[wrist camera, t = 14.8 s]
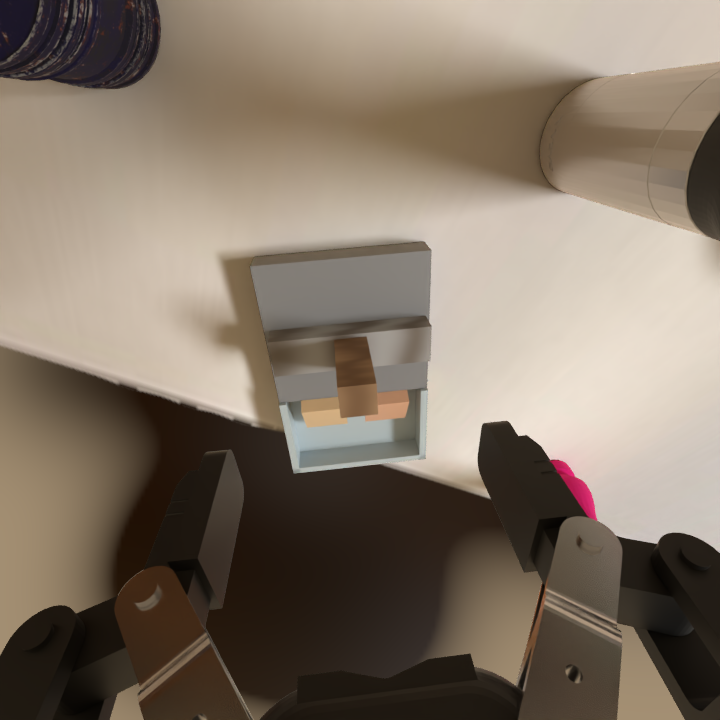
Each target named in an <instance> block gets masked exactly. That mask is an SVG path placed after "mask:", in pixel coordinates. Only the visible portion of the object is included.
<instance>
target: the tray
mask: <svg viewBox="0 0 720 720" xmlns="http://www.w3.org/2000/svg"><path fill="white" fill-rule="evenodd" d="M407 392H408V397H409V405H408V409H407V413H406V417H405V418H396V419H386V420H376V421H367V422H365V416H358V417H348V418H347V422H348V424H338V425H329V426H320V427H310V428H307V426H306V423H305V421H304V418H303V416H302V413H301V401H294V402H284V403H279V408H280V412H281V417H282V421H283V426H284V430H285V435H286V439H287V444H288V449H289V453H290V457H291V462H292V467H293V472H294V473H302V472H311V471H320V470H329V469H338V468H347V467H355V466H365V465H374V464H383V463H392V462H402V461H411V460H420V459H426V431H427V402H428V389H427V388H420V389H410V390H407Z"/></svg>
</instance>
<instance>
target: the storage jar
mask: <svg viewBox="0 0 720 720" xmlns="http://www.w3.org/2000/svg"><path fill="white" fill-rule="evenodd" d="M160 34H161V27H160V16H159V11H158V6H157V2H156V0H0V77H4V78H12V79H20V80H26V81H33V80H45V79H51V80H54V81H57V82H61V83H67V84H69V85H73V86H78V87H84V88H106V89H118V88H123V87H127V86H130V85H132V84H134V83H136V82H137V81H139V80H140V79H142V78H143V77H144V76H145V75H146V74H147V73H148V71H149V70H150V68H151V67H152V65H153V64H154V61H155V59H156V56H157V54H158V49H159V44H160Z"/></svg>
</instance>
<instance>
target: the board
mask: <svg viewBox="0 0 720 720" xmlns="http://www.w3.org/2000/svg"><path fill="white" fill-rule="evenodd" d="M250 270H251V274H252V279H253V283H254V288H255V293H256V297H257V302H258V306H259V311H260V316H261V320H262V325H263V329H264V334H265V339H266V343H267V342H268V337H269V333H270V331H272V330H282V329H293V328H303V327H313V326H323V325H334V324H344V323H354V322H365V321H375V320H385V319H395V318H406V317H416V316H426V317H427V319H428V321H429V309H430V278H431V249H430V248H429V247H428V246H427V244H426V243H425V242H415V243H404V244H393V245H381V246H370V247H359V248H347V249H336V250H325V251H313V252H302V253H291V254H279V255H268V256H257V257H254V259H253V261H252V263H251V265H250ZM267 348H268V344H267ZM268 352H269V348H268ZM269 357H270V353H269ZM270 362H271V357H270ZM271 366H272V362H271ZM373 369H374V373H375V378H376V383H377V393H380V392H390V391H399V390H410V389H420V388H427V369H428V361H426V362H416V363H406V364H396V365H387V366H377V367H373ZM272 371H273V367H272ZM273 375H274V371H273ZM274 380H275V385H276V389H277V394H278V399H279V403H284V402H294V401H302V400H312V399H321V398H331V397H338V392H337V379H336V371H328V372H318V373H308V374H298V375H289V376H279V377H275V376H274Z"/></svg>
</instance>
